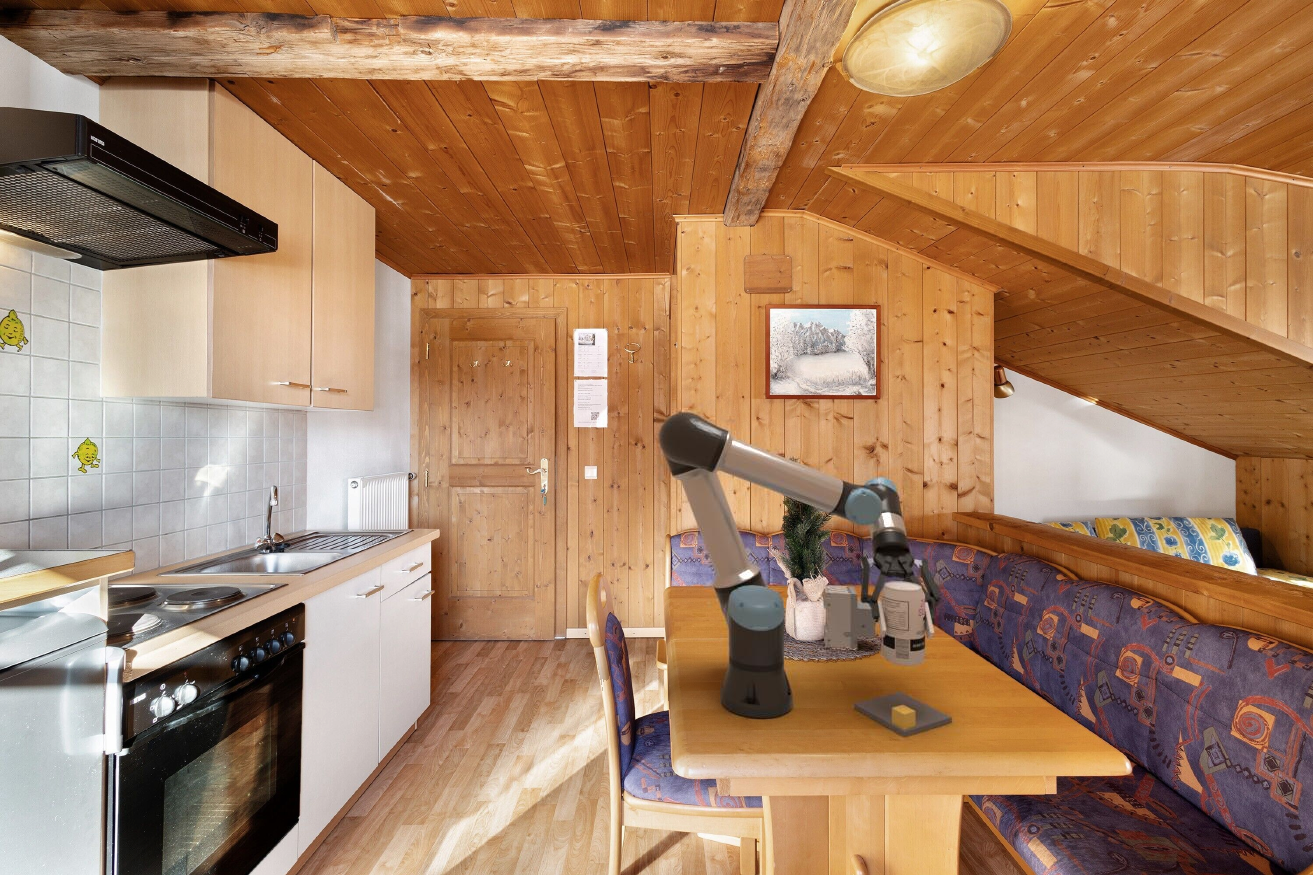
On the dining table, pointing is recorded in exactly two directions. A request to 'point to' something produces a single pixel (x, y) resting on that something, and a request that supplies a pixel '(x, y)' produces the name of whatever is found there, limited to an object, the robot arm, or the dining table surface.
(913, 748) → the dining table surface
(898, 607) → the supplement can
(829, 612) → the circuit breaker
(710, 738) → the dining table surface
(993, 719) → the dining table surface
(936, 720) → the pad
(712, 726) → the dining table surface
